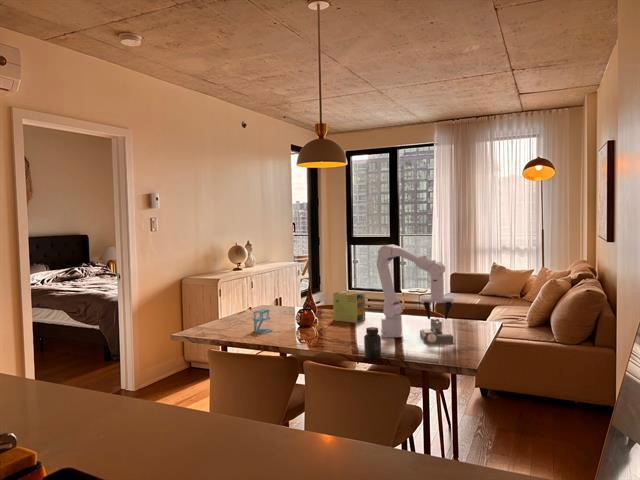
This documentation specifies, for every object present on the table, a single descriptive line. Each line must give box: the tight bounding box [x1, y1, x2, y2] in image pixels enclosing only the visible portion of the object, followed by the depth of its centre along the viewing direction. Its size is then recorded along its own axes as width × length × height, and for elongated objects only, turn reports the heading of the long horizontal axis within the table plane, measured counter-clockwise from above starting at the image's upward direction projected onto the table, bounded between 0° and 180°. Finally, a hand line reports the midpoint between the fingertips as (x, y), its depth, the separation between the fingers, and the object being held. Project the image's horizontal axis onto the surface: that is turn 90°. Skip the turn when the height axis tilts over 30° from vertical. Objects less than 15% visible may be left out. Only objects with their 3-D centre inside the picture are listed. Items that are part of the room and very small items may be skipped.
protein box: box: [332, 290, 366, 324], centre depth 276 cm, size 10×15×16 cm
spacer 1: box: [430, 318, 440, 331], centre depth 230 cm, size 4×4×5 cm
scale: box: [419, 328, 454, 345], centre depth 226 cm, size 13×15×5 cm
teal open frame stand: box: [252, 308, 273, 335], centre depth 250 cm, size 8×8×12 cm
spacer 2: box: [433, 320, 443, 334], centre depth 224 cm, size 4×4×5 cm
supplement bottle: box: [363, 326, 382, 360], centre depth 199 cm, size 7×7×12 cm
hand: (437, 318), depth 224 cm, fingers open, 7 cm apart
